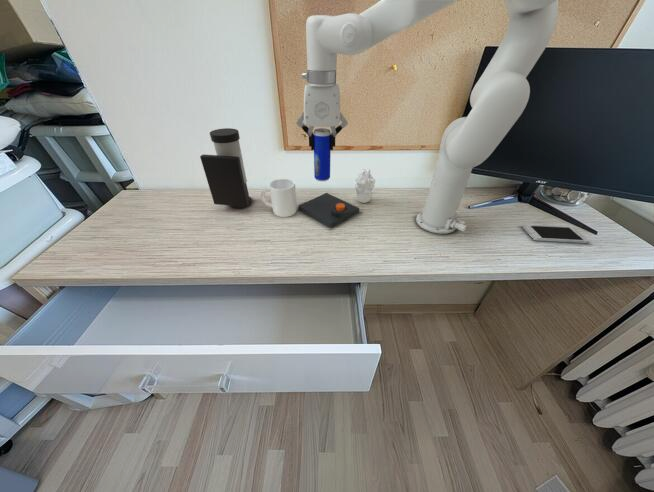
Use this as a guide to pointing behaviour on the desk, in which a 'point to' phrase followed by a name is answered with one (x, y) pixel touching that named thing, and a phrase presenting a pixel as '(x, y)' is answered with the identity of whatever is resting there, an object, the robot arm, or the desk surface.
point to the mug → (281, 197)
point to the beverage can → (322, 154)
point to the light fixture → (226, 170)
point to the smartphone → (555, 234)
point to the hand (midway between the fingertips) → (322, 148)
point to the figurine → (364, 186)
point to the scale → (327, 210)
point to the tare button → (340, 207)
